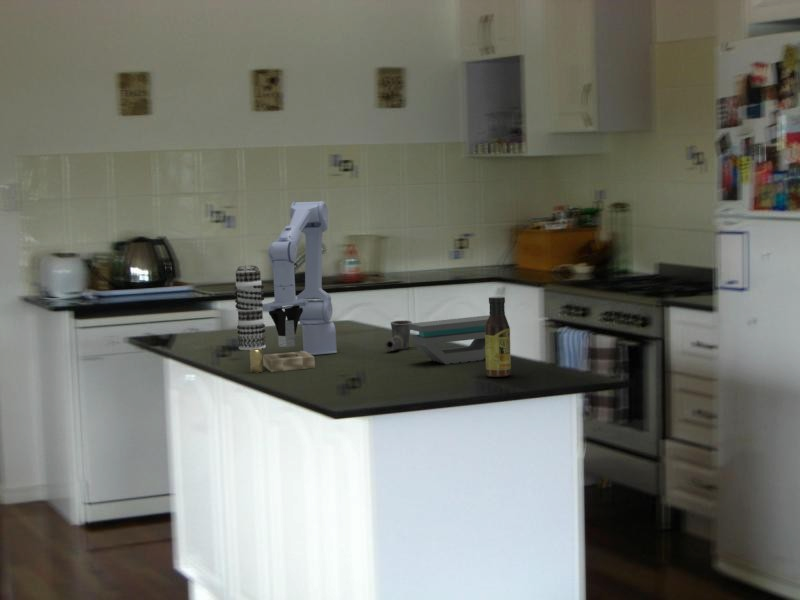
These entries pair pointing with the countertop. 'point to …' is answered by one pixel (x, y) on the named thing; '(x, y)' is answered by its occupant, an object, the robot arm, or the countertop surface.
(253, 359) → the cylinder
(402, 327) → the pipe
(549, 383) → the countertop surface
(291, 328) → the square bit
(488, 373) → the sauce bottle
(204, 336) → the countertop surface
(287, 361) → the socket block
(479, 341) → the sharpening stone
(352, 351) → the countertop surface
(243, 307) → the decorative candle
